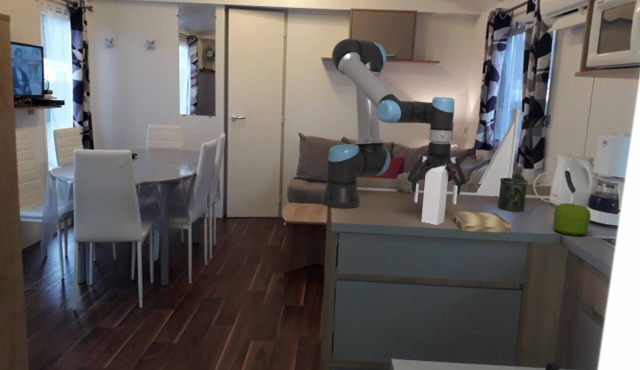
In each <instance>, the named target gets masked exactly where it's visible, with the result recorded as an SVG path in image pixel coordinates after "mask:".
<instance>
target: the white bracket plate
mask: <svg viewBox="0 0 640 370" xmlns="http://www.w3.org/2000/svg"><path fill="white" fill-rule="evenodd" d="M520 112H521V109H519V108H512V112H511V120H510V123H509V126H508V127H507V130H506V131H505V133H504V135H503V137H502V139H501V141H500V143H499V145H498V147H497V148H496V150H495V151H494V154H493V155H492V158H491V160H490V161H489V163H488V165H487V167H486V169H485V171H484V173H483V175H482V177H481V179H480V180H479V182H478V184H481V185H480V187H479V188H478V190H477V192H475V195H476V194H477V195H476V196H484V195H485V197H487V196H488V197H494V196H498V197H497V198H499V193H500V185H501V181H500V179H501V178H513V174H514V173H513V172H514V171H513V170H514V163H515V157H516V156H515V155H516V154H515V153H516V146H517V137H518V130H519V120H520Z"/></svg>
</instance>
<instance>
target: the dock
mask: <svg viewBox="0 0 640 370" xmlns="http://www.w3.org/2000/svg"><path fill="white" fill-rule="evenodd" d="M450 220H451V221H452V222H455V225H456V226H458V227H459V229H460V230H461V232H462V231H463V232H477V233H479V232H480V233H500V234H510V233H511V232H510V231H511V226H512V224H511V223H510V222H508V221H507V220H505V219H504V218H503V217H501V216H500V215H499V214H497V213H496V212H471V211H455V210H452V211H451V219H450Z"/></svg>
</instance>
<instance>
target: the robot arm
mask: <svg viewBox="0 0 640 370" xmlns="http://www.w3.org/2000/svg"><path fill="white" fill-rule="evenodd" d="M331 60H332V64H333V65H334V67H335V68H336V70H337V71H338V72H339V73H340V74H341V75H344V76H346V77H347V78H348V79H349V80H350V81H351V82H352V83H353V84H354V85H355V91H356V93H355V94H356V113H357V114H356V115H357V138H358V139H357V140H356V141H355V143H354V144H353V143H352V144H351V143H346V144H345V143H343V144H336V145H333V146H331V147H330V148H329V150H328V156H327V175H326V179H327V181H326V186H325V188H324V191H323V193H322V197H321V204H322V205H323V206H327V207H330V208H337V209H352V208H353V209H354V208H358V207H360V204H361V198H360V195H359V189H358V186H357V185H358V184H357V181H358V178H364V177H366V178H367V177H377V176H381V175H383V174H385V173H386V172H387V170H388V169H389V168H390V164H391V154H390V151H389V150H388V149H387V148H386V147H385V144H384V141H383V139H381V138H380V122H382V123H387V124H427V125H429V135H428V136H429V137H428V141H430V142H428V148H427V149H428V150H427V155H425V156H424V155H421V154H419V155H418V158H417V161H416V162H415V164H414V166H413V168H412V170H411V171H410V172H409V173H410V175H409V176H408V178H407V180H408V181H409V182H412V191H411V192H412V193H413V202H414V203H418V197H419V186H420V184H419V183H418V182H419V181H420V180H421V179H422V178H423V177H425V175H426V173H427V172H428V171H429V170H430V169H431V168H437V167H440V166H443V165H444V166H446V167H445V168H446V170H447V171H448V176H450V178H451V179H452V180H453V181H454V183H455V184H453V187H452V188H453V189H452V198H451V200H452V201H451V203H452V204H453V205H457V198H458V195H460V193H461V188H462V187H461V186H462V185H467V180H466V178H465V175H464V173H463V170H462V167H461V165H460V158H459V157H458V156H454V157H451V148H452V144H451V142H452V137H453V124H454V116H455V111H456V110H455V99H454V98H453V97H445V96H443V97H441V96H434V97H433V98H432V100H431V102H429V101H418V100H413V101H411V100H410V101H409V100H408V101H407V100H400V99H399V98H398V97H397V96H396V95H394V93H393V92H392V91H391V90H390V89H389V88H388V87H387V86H386V85H385V84H384V83H383V82H382V81H381V80H380V79H379V77H380V76H381V72H382V70H384V68H385V65H386V63H387V53H386V50H385V48H384V47H383V46H382V44H380V43H378V42H377V41H375V42H374V41H372V40H364V39H363V40H362V39H353V38H346V39H342V40H340V41H339V42H337V43H336V44H335V45H334V47H333V50H332V53H331ZM425 161H426V162H427V164H426V165H425V166H424V167H423V168H422V169H421V171H420V172H418V171H419V169H420V167H421V166H422V164H423V163H424V162H425ZM451 162H452V163H453V164H454V165H453V166H454V167H455V169H456V172H457V175H458V177H459V178H458V177H457V176H456V175H455V173H454V172H453V170H452V169H451V167H450V166H449V164H450V163H451ZM417 172H418V173H417ZM416 174H417V175H416ZM413 177H414V179H413Z"/></svg>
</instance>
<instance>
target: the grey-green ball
mask: <svg viewBox="0 0 640 370" xmlns="http://www.w3.org/2000/svg"><path fill="white" fill-rule="evenodd" d="M410 173H411V172H402V173H399V174H398V175H397V177H396V178H395V180H394V181H393V184H394V186H395V189H396V191H398V192H401V193H409V192H412V182H409V181H408V180H407V178H408V176H409V175H410ZM414 178H415V176H414V177H413V179H414Z"/></svg>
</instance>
